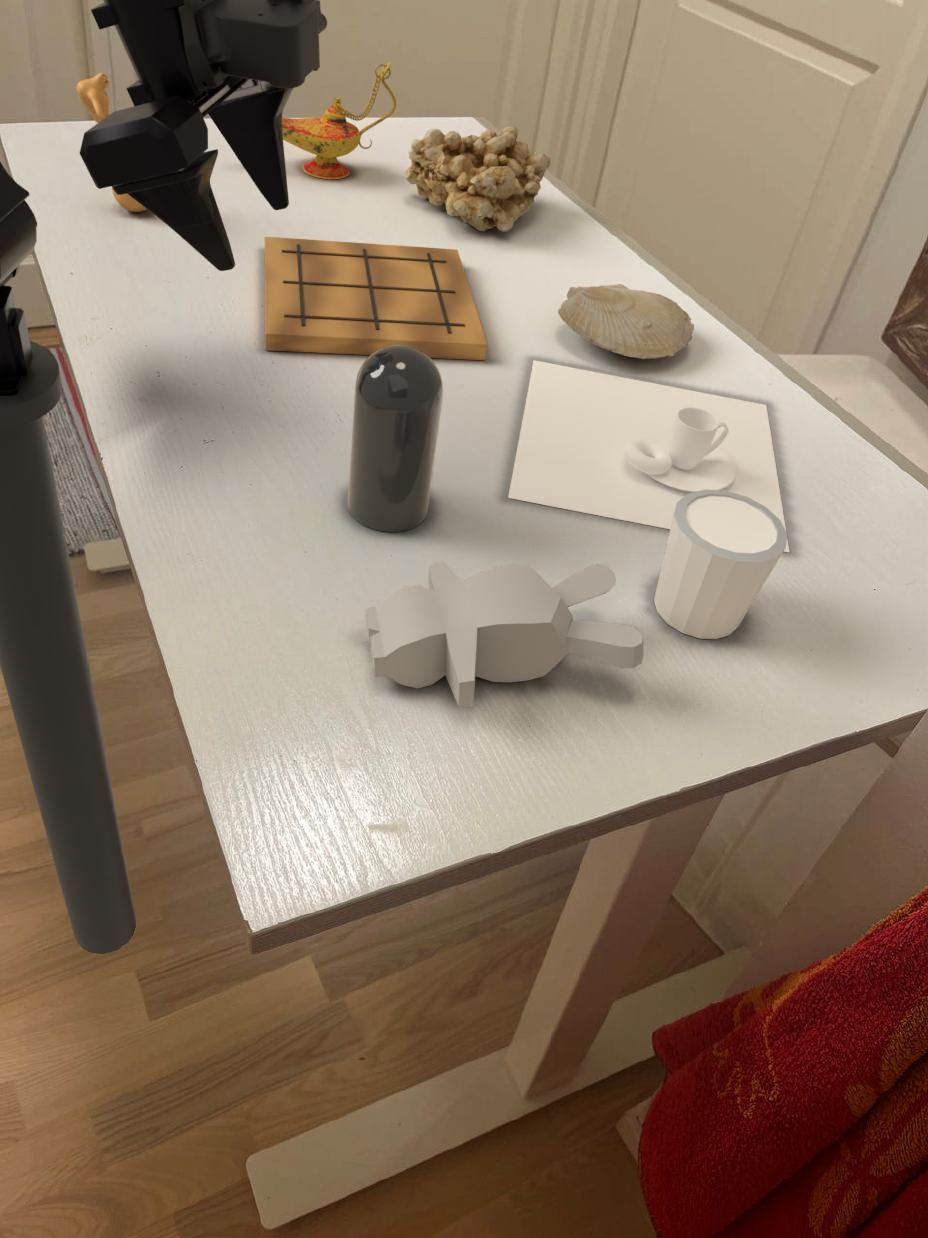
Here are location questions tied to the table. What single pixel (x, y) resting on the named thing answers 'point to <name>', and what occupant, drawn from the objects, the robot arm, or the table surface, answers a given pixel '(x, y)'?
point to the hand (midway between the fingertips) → (256, 237)
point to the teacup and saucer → (637, 446)
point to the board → (368, 299)
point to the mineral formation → (477, 175)
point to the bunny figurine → (492, 628)
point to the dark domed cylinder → (394, 438)
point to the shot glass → (716, 561)
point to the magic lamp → (332, 134)
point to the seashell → (627, 320)
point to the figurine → (98, 106)
